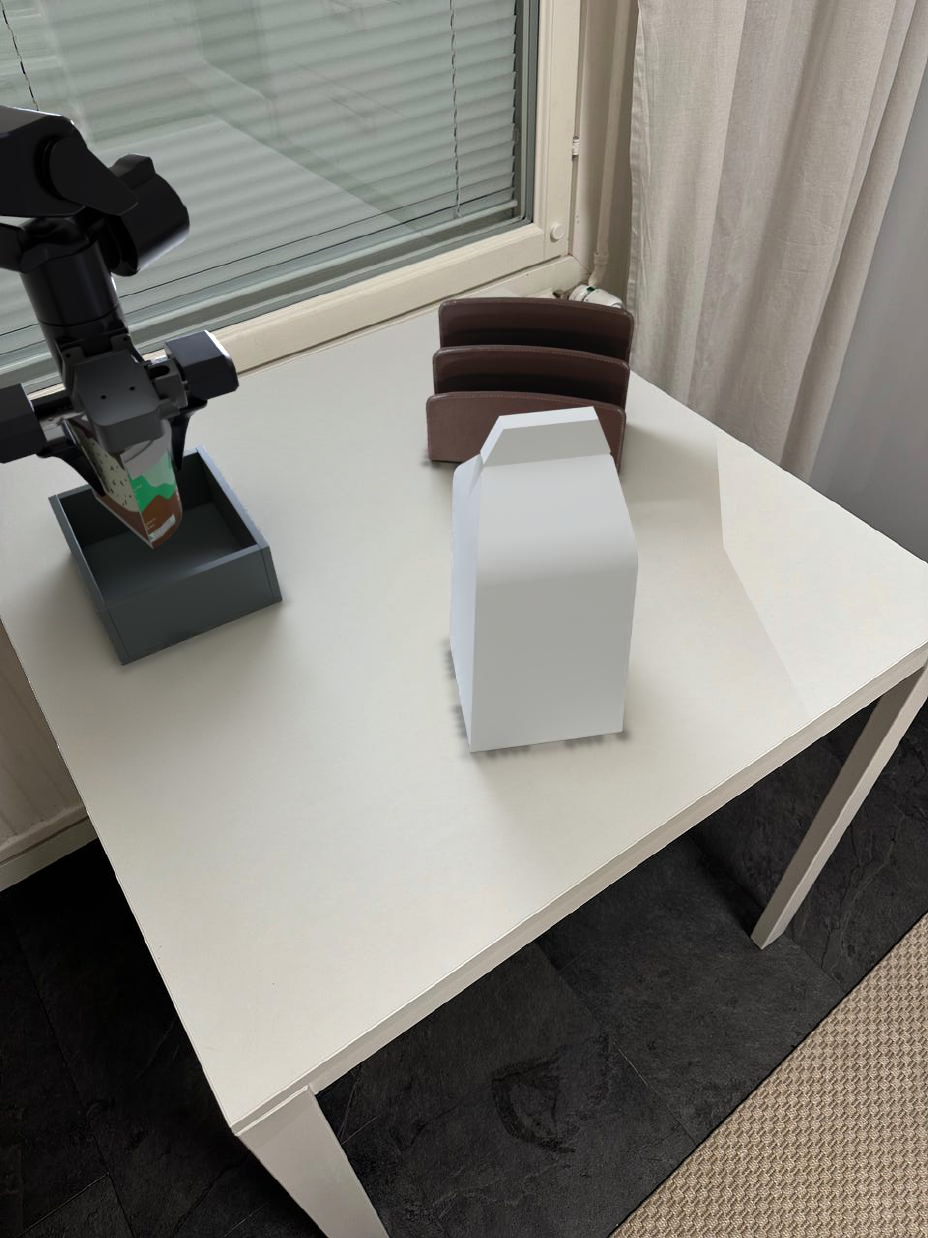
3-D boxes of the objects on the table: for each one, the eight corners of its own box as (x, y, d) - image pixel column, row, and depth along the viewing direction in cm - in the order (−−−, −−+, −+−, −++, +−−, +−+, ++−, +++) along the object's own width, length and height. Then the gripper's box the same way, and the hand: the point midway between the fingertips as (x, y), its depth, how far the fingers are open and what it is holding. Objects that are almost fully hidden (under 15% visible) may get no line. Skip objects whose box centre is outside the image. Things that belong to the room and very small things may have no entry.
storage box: (122, 665, 75) (96, 612, 70) (72, 550, 85) (47, 497, 80) (282, 600, 80) (269, 545, 75) (218, 498, 90) (203, 444, 85)
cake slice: (226, 520, 75) (195, 420, 67) (163, 557, 72) (123, 458, 65) (148, 459, 81) (112, 361, 73) (87, 491, 78) (43, 392, 71)
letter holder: (443, 407, 100) (438, 287, 89) (621, 419, 97) (638, 298, 87) (427, 462, 93) (420, 339, 83) (619, 476, 91) (636, 353, 80)
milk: (470, 752, 69) (464, 488, 49) (449, 641, 76) (437, 375, 57) (621, 732, 70) (674, 465, 50) (586, 624, 77) (620, 357, 58)
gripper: (-43, 400, 55) (49, 581, 66) (244, 318, 61) (282, 496, 72) (-71, 322, 61) (17, 499, 73) (191, 255, 68) (233, 427, 79)
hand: (140, 481), depth 74 cm, fingers closed on cake slice, 6 cm apart
